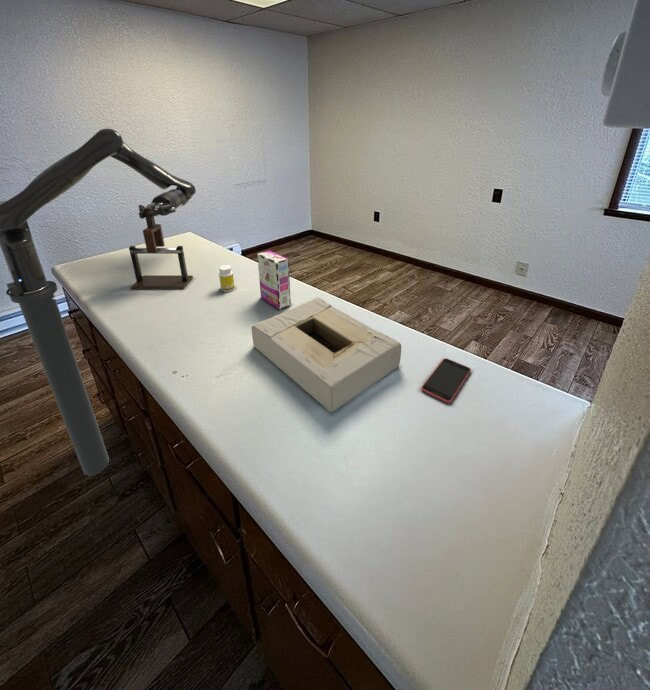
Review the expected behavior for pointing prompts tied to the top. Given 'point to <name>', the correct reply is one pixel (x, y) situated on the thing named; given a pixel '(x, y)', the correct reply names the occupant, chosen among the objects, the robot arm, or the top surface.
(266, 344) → the box
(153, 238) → the brown u-shaped bracket
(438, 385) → the smartphone
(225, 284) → the supplement bottle
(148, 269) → the top surface
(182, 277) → the rack
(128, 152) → the robot arm
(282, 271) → the candy bar box
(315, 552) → the top surface
